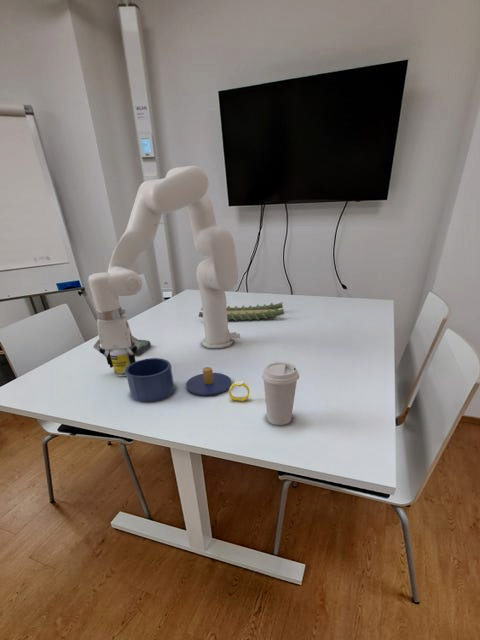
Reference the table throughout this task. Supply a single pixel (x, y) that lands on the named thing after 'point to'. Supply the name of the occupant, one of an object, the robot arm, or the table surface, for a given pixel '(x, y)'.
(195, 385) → the lid
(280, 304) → the green spiky bar
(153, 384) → the tin
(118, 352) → the pill bottle
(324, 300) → the table surface
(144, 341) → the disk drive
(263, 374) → the coffee cup
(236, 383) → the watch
